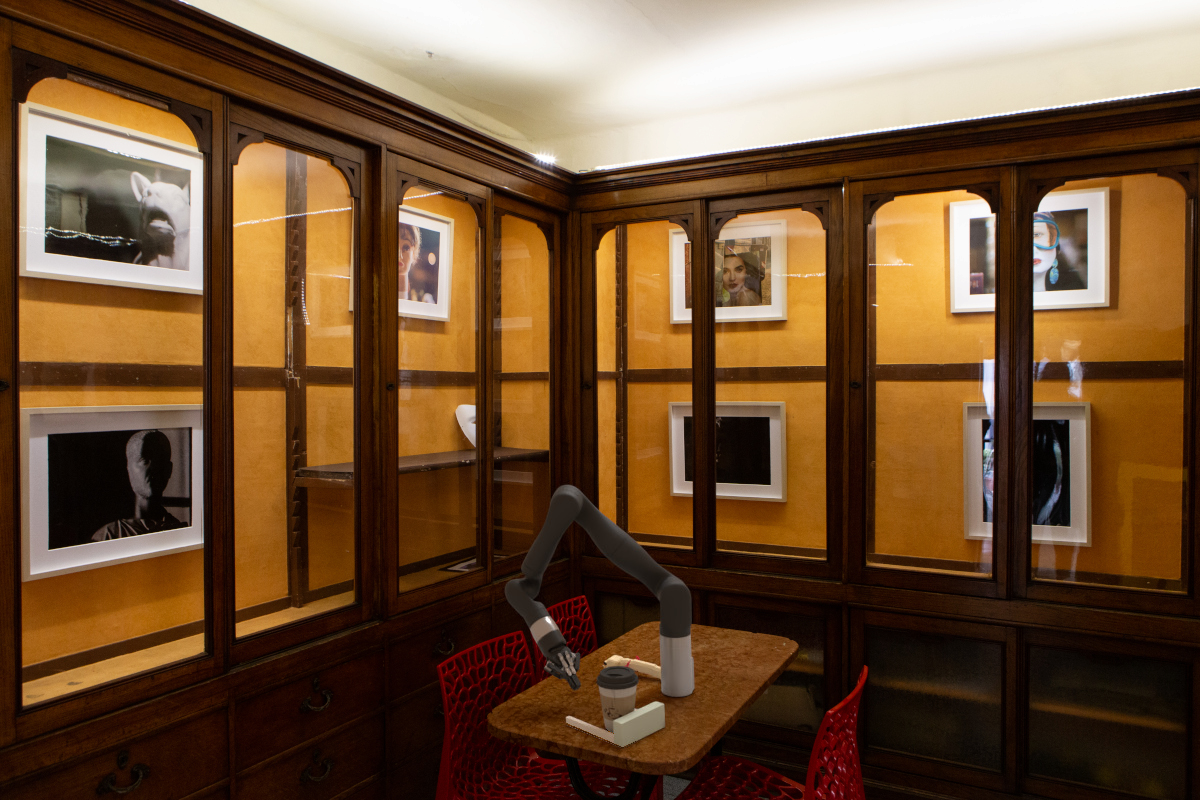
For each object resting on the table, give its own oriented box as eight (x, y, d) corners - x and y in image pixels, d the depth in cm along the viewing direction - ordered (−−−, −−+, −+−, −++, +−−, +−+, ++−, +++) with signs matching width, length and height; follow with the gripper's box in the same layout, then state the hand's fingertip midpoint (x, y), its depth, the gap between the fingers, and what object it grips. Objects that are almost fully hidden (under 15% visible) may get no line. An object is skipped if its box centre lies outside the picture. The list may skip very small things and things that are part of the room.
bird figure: (681, 681, 236) (611, 663, 249) (682, 654, 236) (612, 637, 248) (667, 692, 228) (596, 673, 240) (669, 664, 227) (597, 646, 240)
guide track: (608, 705, 215) (608, 684, 216) (665, 726, 201) (664, 704, 201) (566, 724, 204) (565, 702, 204) (622, 748, 189) (621, 724, 189)
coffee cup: (591, 735, 197) (590, 677, 197) (605, 717, 208) (603, 662, 208) (634, 739, 193) (632, 681, 193) (645, 721, 204) (643, 666, 204)
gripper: (536, 634, 214) (566, 688, 206) (570, 623, 224) (600, 674, 215) (524, 649, 218) (554, 702, 210) (558, 638, 228) (588, 688, 219)
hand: (577, 688), depth 212 cm, fingers closed
